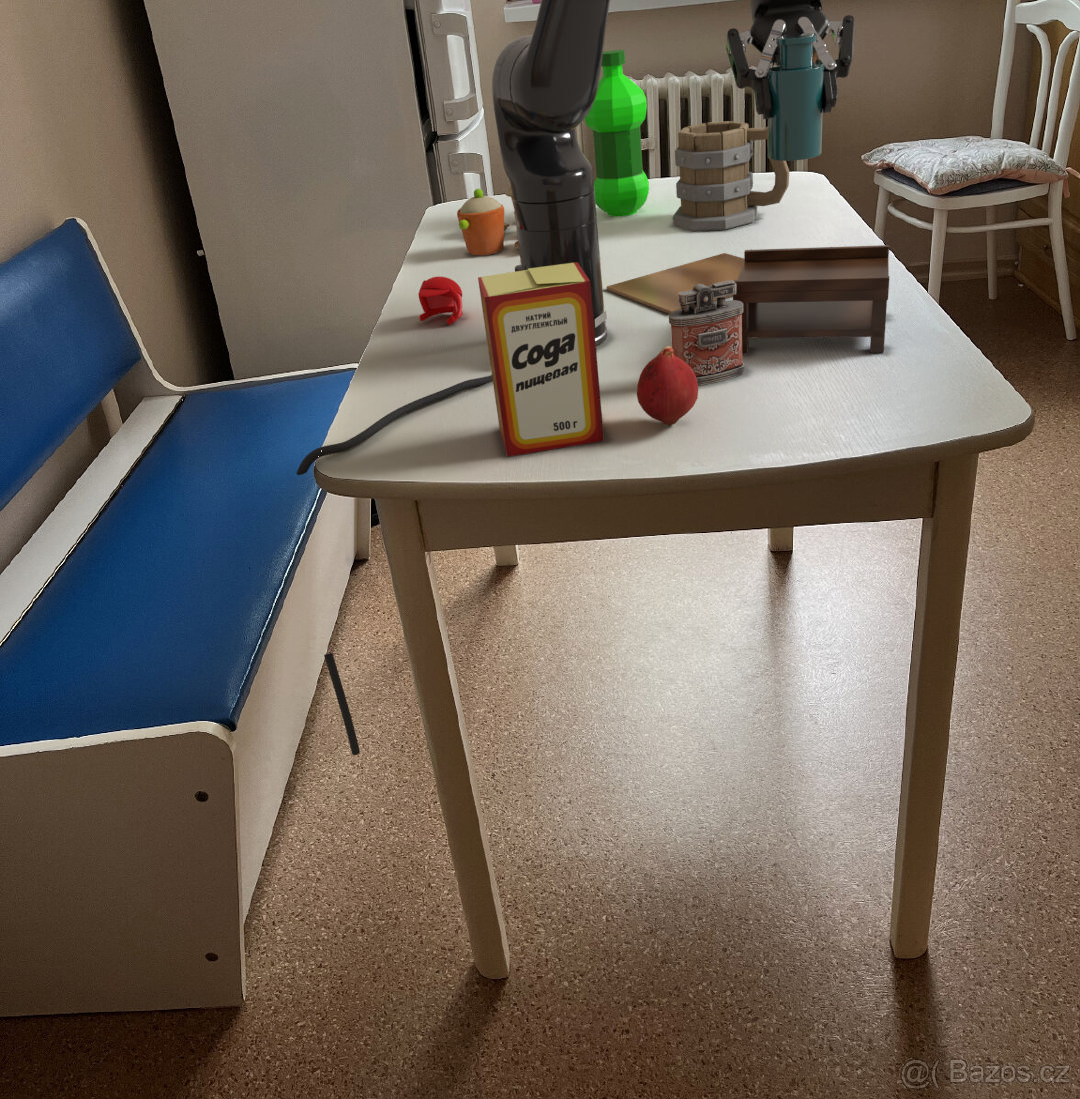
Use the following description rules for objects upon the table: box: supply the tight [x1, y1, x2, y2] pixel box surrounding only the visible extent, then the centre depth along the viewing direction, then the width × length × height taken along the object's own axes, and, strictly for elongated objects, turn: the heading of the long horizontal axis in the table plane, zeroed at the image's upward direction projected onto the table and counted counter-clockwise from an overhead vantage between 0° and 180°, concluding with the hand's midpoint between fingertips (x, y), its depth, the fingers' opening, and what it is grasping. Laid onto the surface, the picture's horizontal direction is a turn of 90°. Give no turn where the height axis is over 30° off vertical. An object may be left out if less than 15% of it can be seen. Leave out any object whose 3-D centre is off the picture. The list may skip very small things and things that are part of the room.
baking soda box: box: [477, 262, 605, 458], centre depth 98 cm, size 10×6×16 cm
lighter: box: [668, 280, 745, 387], centre depth 107 cm, size 8×3×10 cm, turn 106°
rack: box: [732, 244, 890, 354], centre depth 115 cm, size 16×12×8 cm
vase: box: [767, 33, 824, 162], centre depth 112 cm, size 6×6×12 cm
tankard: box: [672, 120, 790, 232], centre depth 160 cm, size 20×13×15 cm, turn 73°
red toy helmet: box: [417, 276, 464, 326], centre depth 135 cm, size 8×6×6 cm
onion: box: [636, 345, 699, 426], centre depth 99 cm, size 6×6×8 cm
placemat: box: [606, 252, 745, 315], centre depth 138 cm, size 20×15×1 cm
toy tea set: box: [456, 186, 519, 256], centre depth 168 cm, size 26×16×10 cm, turn 2°
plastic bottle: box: [584, 49, 650, 218], centre depth 169 cm, size 10×10×25 cm
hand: (798, 110), depth 111 cm, fingers closed on vase, 6 cm apart
